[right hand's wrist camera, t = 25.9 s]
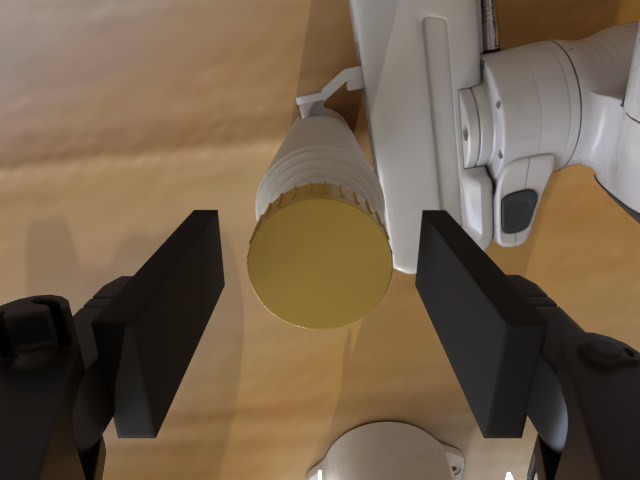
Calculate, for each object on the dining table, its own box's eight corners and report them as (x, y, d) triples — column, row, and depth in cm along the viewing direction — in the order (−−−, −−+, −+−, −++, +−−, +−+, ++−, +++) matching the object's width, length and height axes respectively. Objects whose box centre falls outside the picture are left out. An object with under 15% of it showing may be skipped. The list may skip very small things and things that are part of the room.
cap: (226, 238, 14) (214, 260, 12) (328, 152, 13) (329, 163, 11) (313, 324, 15) (312, 355, 14) (412, 252, 14) (424, 275, 13)
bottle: (276, 127, 36) (198, 225, 13) (333, 94, 35) (358, 137, 12) (308, 182, 38) (288, 355, 15) (362, 153, 37) (434, 288, 14)
